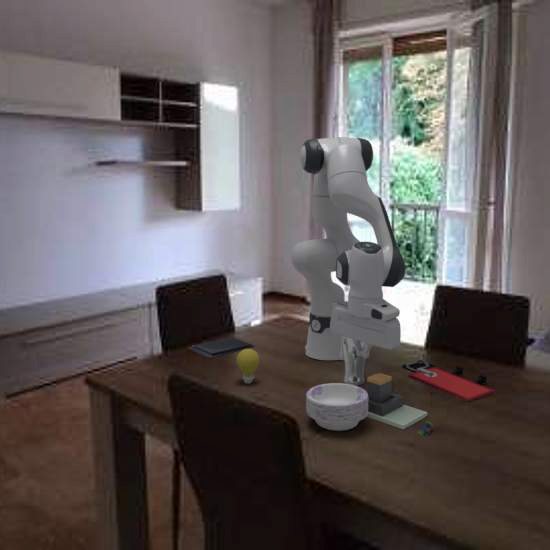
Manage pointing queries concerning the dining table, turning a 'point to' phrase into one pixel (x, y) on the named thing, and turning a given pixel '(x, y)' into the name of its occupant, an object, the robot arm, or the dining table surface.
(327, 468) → the dining table surface
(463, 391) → the red board with handle
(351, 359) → the beer glass
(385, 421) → the board
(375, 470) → the dining table surface
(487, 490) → the dining table surface
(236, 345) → the wallet
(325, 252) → the robot arm
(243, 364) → the light bulb
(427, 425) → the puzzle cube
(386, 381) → the plug
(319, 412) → the paper bowls
